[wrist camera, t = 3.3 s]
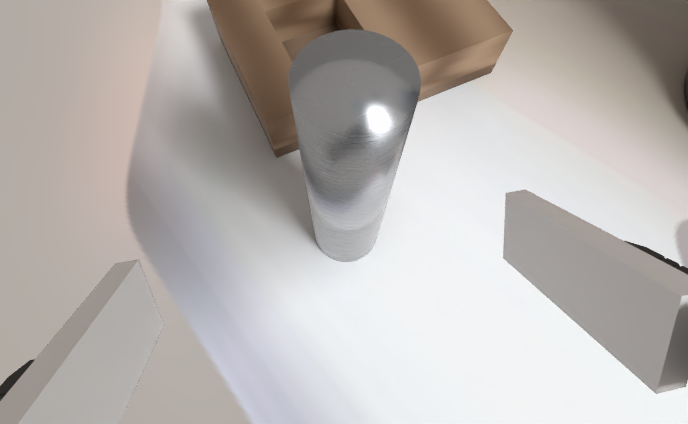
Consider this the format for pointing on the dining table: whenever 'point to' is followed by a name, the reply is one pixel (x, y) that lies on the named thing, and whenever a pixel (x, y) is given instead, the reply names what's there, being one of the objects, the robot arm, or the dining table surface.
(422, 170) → the dining table surface
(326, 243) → the metal peg
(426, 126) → the dining table surface
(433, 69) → the tool block
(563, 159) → the dining table surface
